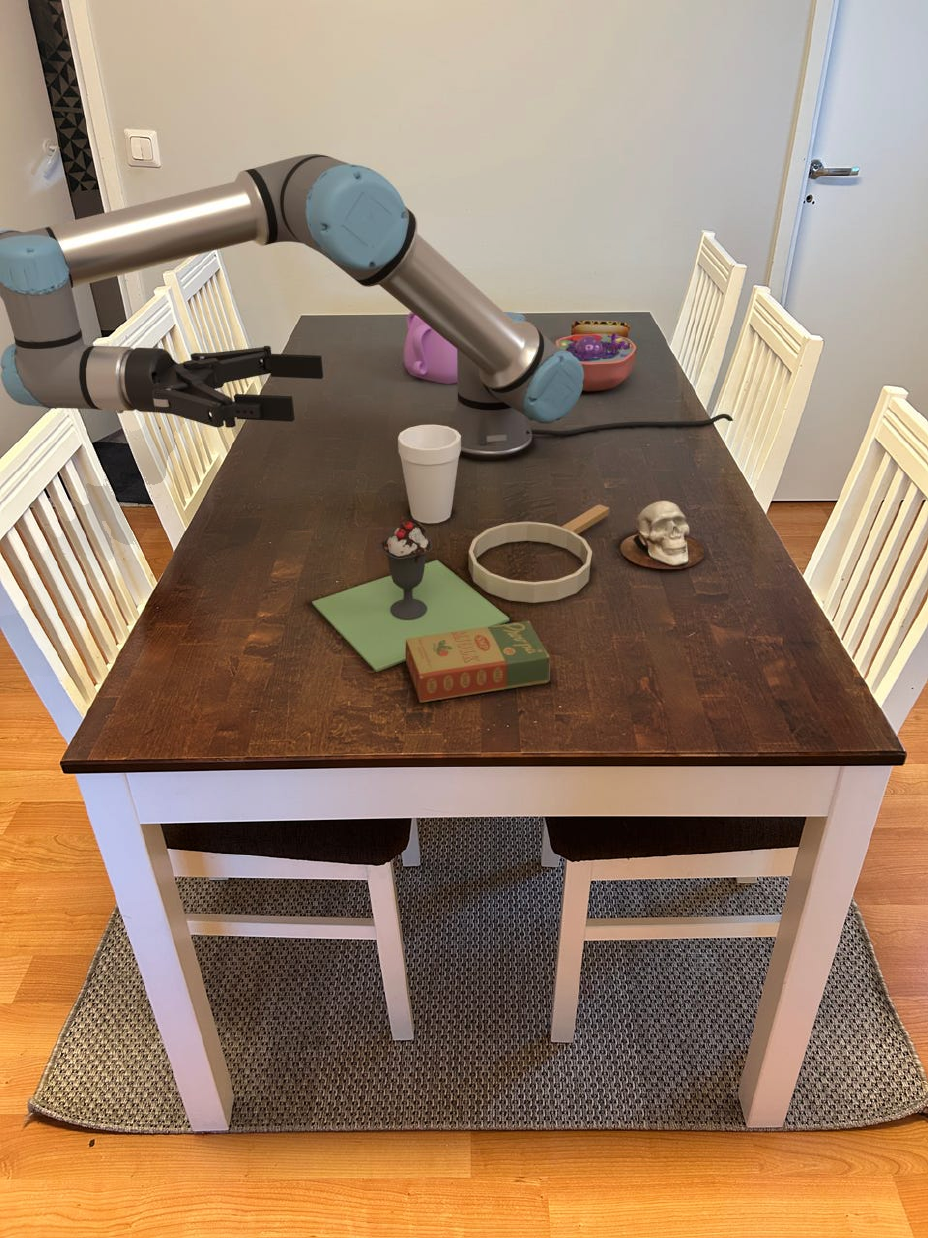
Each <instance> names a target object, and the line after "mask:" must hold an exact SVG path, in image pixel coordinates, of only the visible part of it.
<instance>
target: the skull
mask: <svg viewBox="0 0 928 1238" xmlns="http://www.w3.org/2000/svg"><path fill="white" fill-rule="evenodd" d="M635 525H636V529H637V534H636V533H635V534H633V535H631V536H628V537H626V538H625V539H624V540H623V541H622V542H621V544H620V546H619V547H620V548H619V549H620V552H621V554H622V555H623V556H624V557H625V558H627V560H629V561H631V562H633V563H635V564H637V565H639V566H642V567H647V568H651V569H652V568H653V569H659V570H660V569H662V570H679V569H680V570H681V569H684V568H685V569H686V568H689V567H691V566H694V565H696V564H697V563H699V562H700V561H701V560H702V559H703V558H704V554H705V551H704V547H702V545H701V544H700V543H699V542H698V541H696V540H694V539H692V538H690V537H688V536H689V534H690V526H689V524H688V523H687V522H686V516H685V514H684V513H683V512H682V511H681V509H680V507H679V505H677V504H676V503H674V502H672V501H669V500H659V501H655V502H652V503H650V504H649V505H646V507H644V508H643V509H642V510H641V511H640V513H639V514H638V516H637V517H636V524H635Z"/></svg>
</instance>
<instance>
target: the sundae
mask: <svg viewBox="0 0 928 1238" xmlns="http://www.w3.org/2000/svg"><path fill="white" fill-rule="evenodd" d="M399 520H400V522H399V525H397V528H396V529H395V530H394V532H392V533H390V534H388V535H387V536H386V537H384V538H383V539H382V541H381V542H380V543H379V547H380V549H381V550H382V552H384V553H385V554H386V558H387V563H388V568H389V573H390V575H391V577H392V580H393V582H394V583H395V584H396V585H397V586H398V587H400V588H401V589H403V591H404V598H403V599H402V600H399V601H397V602H395V603H393V604H392V606H391V608H390V612H391V614H392V615H393V616H395V617H396V618H399V619H403V620H413V619H417V618H420V617H421V616H423V615H424V614H425V613H426V611H427V606H426V605H425V604H424V603H423V602H422V601H420V600H417V599H413V595H412V590H413V588H415V587H417V586H418V585H419V584H420V583H421V581H422V579H423V574H424V567H425V564H426V558H427V554H429V553H430V552H431V551H432V549H433V542H432V539H431V538H430V537H429V536H428V535H426V534H425V533H426V527H425V526H423V524H422V523H421V522H419V521H417V520H415V519H413V518H411V520H410V521H406V520H405V516H402V517H401V518H400V519H399ZM402 522H403V523H402Z"/></svg>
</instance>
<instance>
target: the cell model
mask: <svg viewBox="0 0 928 1238" xmlns="http://www.w3.org/2000/svg"><path fill="white" fill-rule="evenodd" d="M555 345H556V346H557V347H558V348H560V349H562V350H563V351H568V352H571V353H572V354H573V356H575V357H576V358H577V359H578V360H579V361H580V363H581V365H582V367H583V371H584V380H583V382H582V384H583V388H582V392H585V393H586V392H601V391H602V392H603V391H606V390H611V389H613V388H616V387H617V386H619V385H620V384H621V383H623V382H624V381H625V380H626V379H627V378H629V377H630V375H631V372H632V370H633V368H634V364H635V361H636V355H637V345H636V344H635V343H634V342H633V340H631V339H630V338H628V337H627V338H624V337H620V336H618V335H617V334H579V335H568V336H564V337H561V338H559V339H556V341H555Z"/></svg>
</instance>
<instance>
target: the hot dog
mask: <svg viewBox="0 0 928 1238" xmlns="http://www.w3.org/2000/svg"><path fill="white" fill-rule="evenodd" d="M630 326H631V325H630V324H629V323H628V322H622V321H618V320H617V321H616V320H595V319H593V320H592V319H591V320H587V319H585V320H577V321H576V320H575V321H573V322H572V324H571V330H570V336H572V335H579V334H617V335H618V336H620V337H624V338H628V337H629V331H630V329H631V327H630Z"/></svg>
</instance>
